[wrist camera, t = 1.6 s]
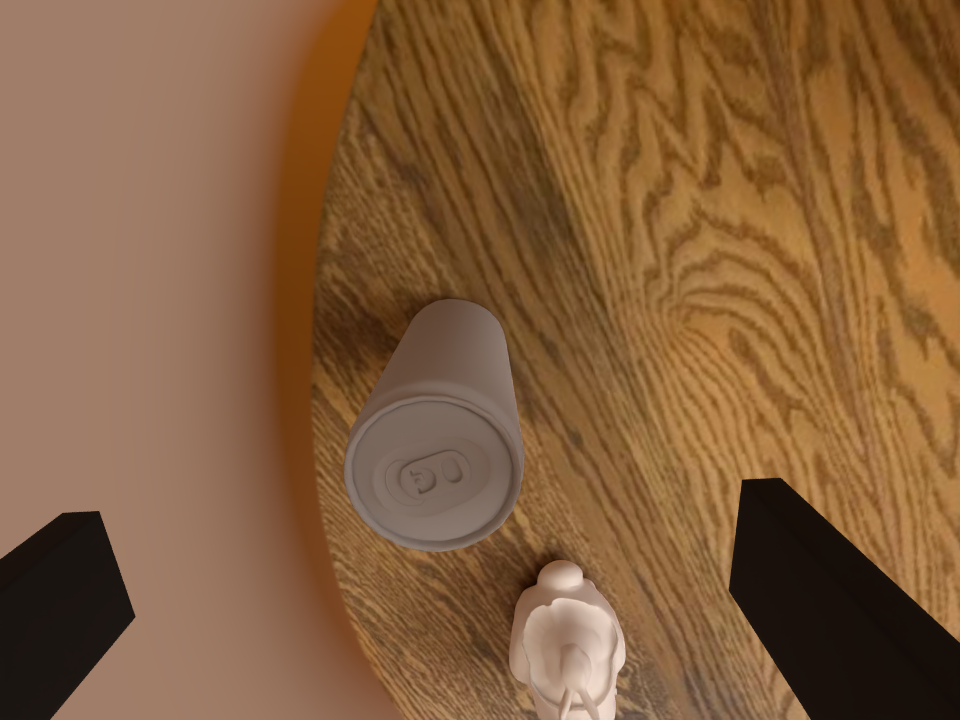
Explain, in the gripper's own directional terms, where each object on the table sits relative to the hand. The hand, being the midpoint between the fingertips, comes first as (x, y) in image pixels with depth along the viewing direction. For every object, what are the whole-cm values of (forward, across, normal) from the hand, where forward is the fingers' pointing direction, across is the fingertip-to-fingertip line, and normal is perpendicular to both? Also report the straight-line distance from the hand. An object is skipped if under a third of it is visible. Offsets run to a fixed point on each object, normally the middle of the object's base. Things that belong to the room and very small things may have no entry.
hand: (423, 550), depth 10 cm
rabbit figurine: (+15, +4, -18) cm, 23 cm away
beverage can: (+15, 0, 0) cm, 15 cm away
